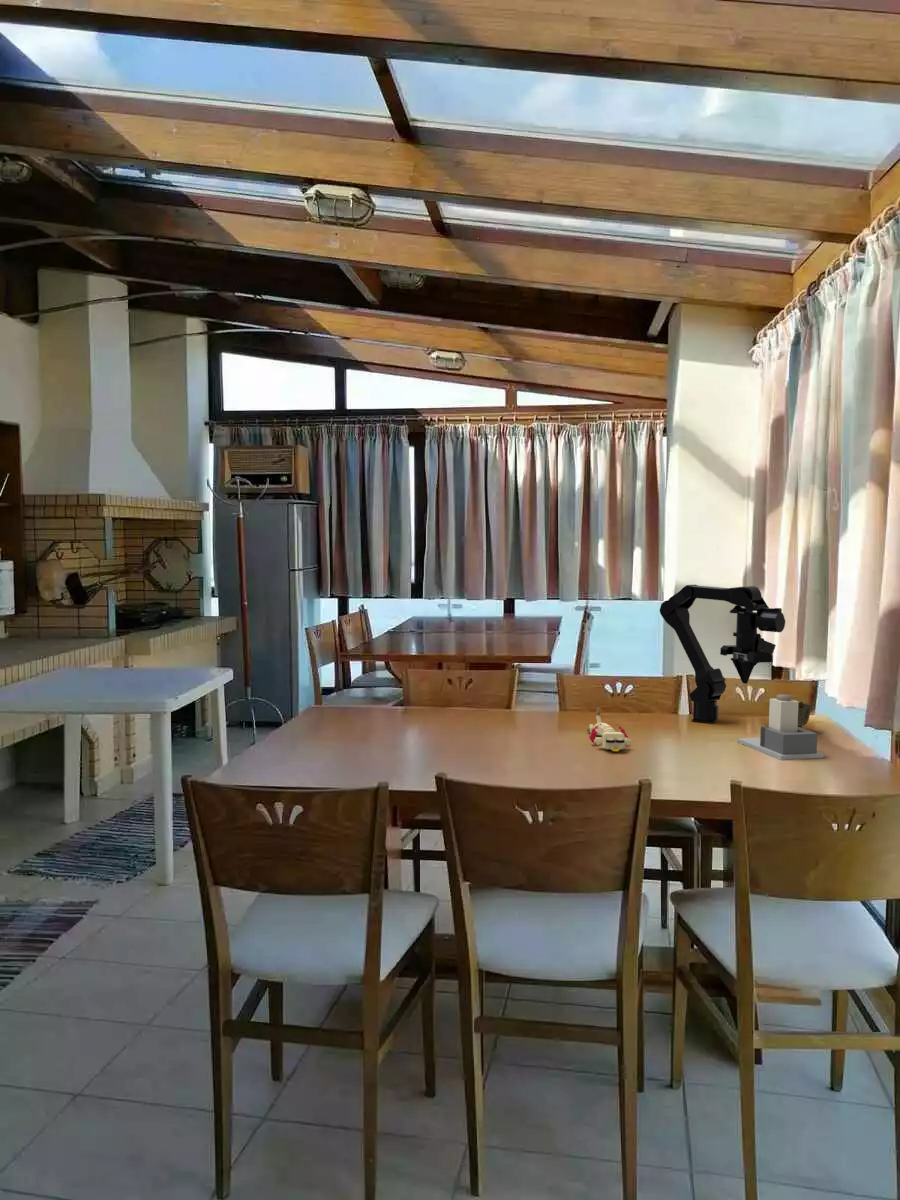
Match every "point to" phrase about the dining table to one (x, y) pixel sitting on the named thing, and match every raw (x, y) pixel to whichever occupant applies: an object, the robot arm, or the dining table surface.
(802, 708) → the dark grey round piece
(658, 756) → the dining table surface
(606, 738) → the cream blocky figure
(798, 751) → the socket
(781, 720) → the beige block
